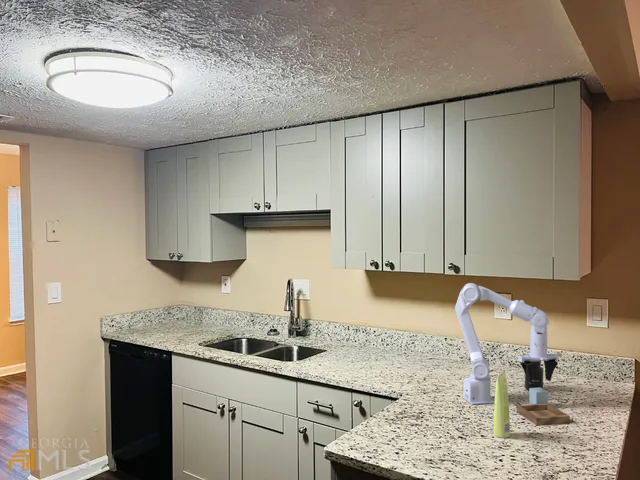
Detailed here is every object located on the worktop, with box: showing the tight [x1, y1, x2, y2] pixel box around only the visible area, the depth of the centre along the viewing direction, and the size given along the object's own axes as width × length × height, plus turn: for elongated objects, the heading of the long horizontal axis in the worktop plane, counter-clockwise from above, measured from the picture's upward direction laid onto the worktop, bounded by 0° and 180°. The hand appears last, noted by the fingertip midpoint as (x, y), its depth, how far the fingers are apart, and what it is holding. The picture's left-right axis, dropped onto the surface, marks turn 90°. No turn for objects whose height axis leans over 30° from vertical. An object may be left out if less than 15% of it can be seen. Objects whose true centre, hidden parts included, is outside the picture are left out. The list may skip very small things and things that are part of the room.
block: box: [528, 388, 549, 405], centre depth 178 cm, size 4×4×6 cm
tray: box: [516, 402, 571, 426], centre depth 167 cm, size 12×12×2 cm
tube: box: [493, 370, 511, 439], centre depth 153 cm, size 6×5×20 cm
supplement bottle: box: [524, 361, 544, 391], centre depth 196 cm, size 7×7×12 cm
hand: (538, 380), depth 178 cm, fingers open, 7 cm apart
